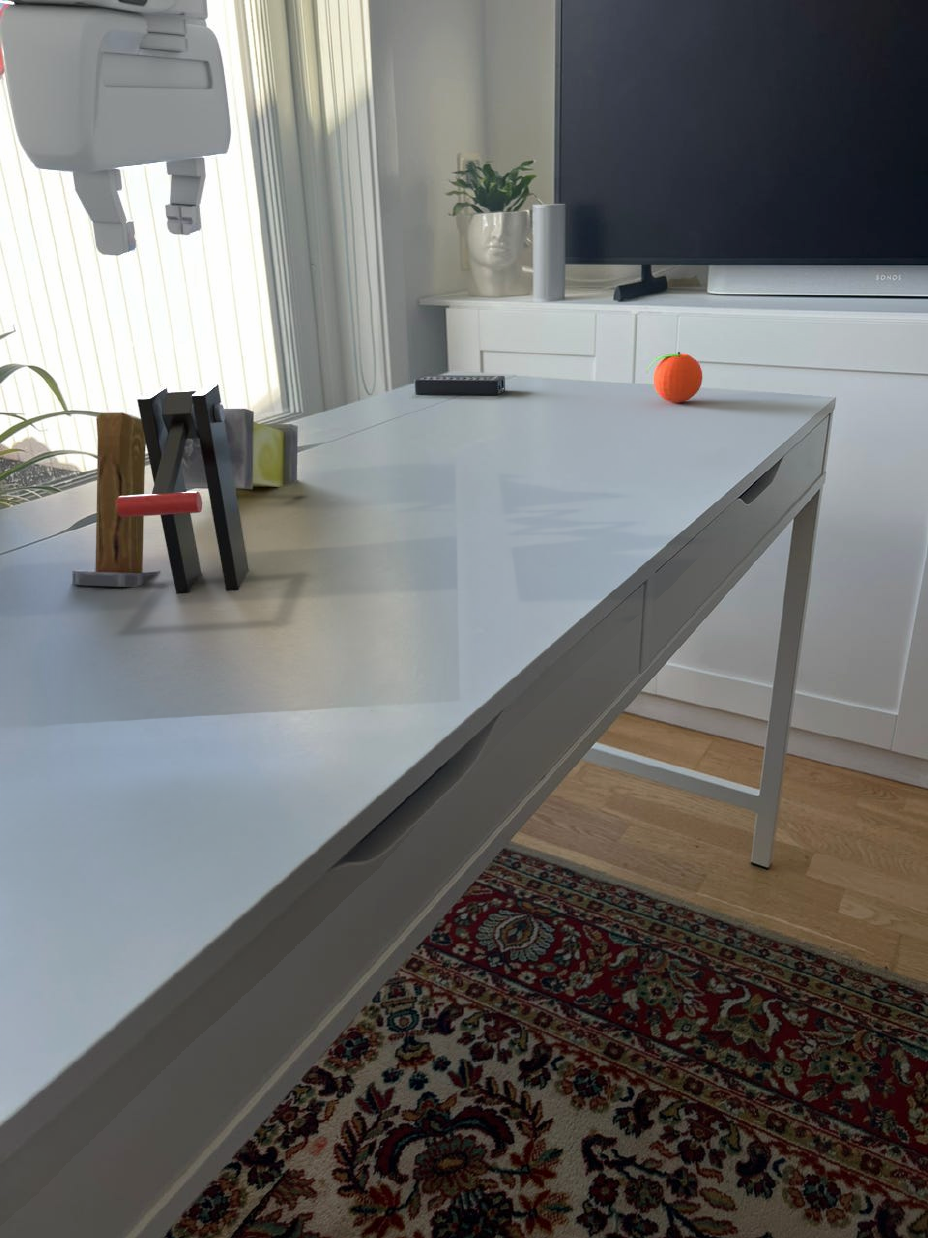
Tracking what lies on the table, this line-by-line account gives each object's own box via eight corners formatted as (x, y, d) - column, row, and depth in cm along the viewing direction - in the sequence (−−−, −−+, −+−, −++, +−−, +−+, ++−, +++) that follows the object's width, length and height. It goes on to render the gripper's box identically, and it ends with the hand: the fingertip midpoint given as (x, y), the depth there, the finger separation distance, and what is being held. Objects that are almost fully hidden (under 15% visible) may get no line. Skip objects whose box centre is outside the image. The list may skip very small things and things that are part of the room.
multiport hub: (424, 388, 156) (423, 374, 155) (506, 389, 151) (505, 375, 150) (414, 394, 152) (413, 379, 151) (497, 395, 147) (496, 380, 146)
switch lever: (202, 521, 64) (193, 495, 62) (123, 526, 64) (111, 500, 62) (225, 414, 72) (217, 388, 70) (155, 418, 72) (145, 393, 70)
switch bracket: (278, 617, 72) (244, 399, 65) (124, 626, 72) (74, 409, 65) (297, 570, 81) (270, 374, 74) (161, 578, 81) (120, 384, 74)
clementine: (649, 408, 132) (650, 357, 129) (642, 399, 138) (643, 350, 135) (705, 405, 132) (708, 354, 129) (696, 396, 138) (698, 347, 135)
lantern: (233, 577, 106) (58, 584, 77) (234, 426, 105) (57, 375, 75) (295, 579, 104) (140, 587, 75) (297, 426, 103) (141, 373, 74)
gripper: (154, -7, 61) (176, 220, 68) (-43, -50, 43) (15, 263, 50) (245, -3, 60) (259, 226, 67) (83, -45, 43) (124, 272, 49)
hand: (153, 242), depth 58 cm, fingers open, 8 cm apart
